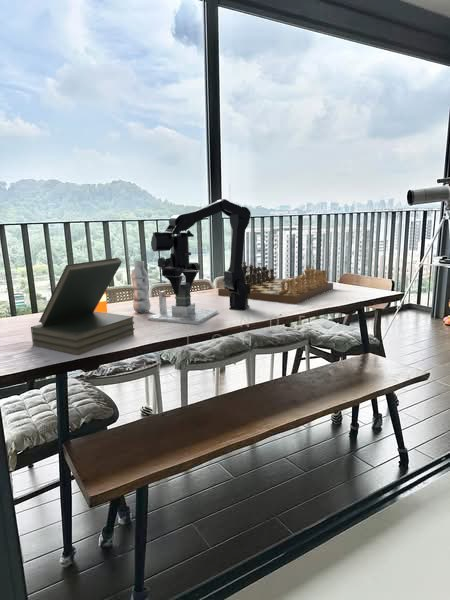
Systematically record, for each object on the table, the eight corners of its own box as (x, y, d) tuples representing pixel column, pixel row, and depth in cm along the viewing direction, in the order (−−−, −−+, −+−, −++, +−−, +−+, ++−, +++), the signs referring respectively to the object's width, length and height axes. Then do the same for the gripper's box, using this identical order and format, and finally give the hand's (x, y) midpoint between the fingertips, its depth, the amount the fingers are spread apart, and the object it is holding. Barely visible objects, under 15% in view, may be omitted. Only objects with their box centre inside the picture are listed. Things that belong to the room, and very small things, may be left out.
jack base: (218, 312, 161) (217, 289, 159) (197, 324, 144) (196, 298, 142) (172, 309, 168) (171, 287, 166) (147, 320, 152) (146, 295, 150)
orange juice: (96, 312, 166) (92, 262, 162) (108, 316, 160) (103, 263, 156) (77, 316, 161) (72, 264, 157) (88, 319, 154) (83, 265, 150)
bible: (92, 328, 144) (85, 255, 139) (135, 335, 134) (129, 257, 129) (32, 346, 125) (22, 263, 120) (77, 356, 115) (68, 266, 110)
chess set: (332, 290, 204) (333, 260, 201) (296, 305, 172) (296, 269, 169) (262, 283, 227) (262, 256, 224) (218, 296, 195) (217, 264, 192)
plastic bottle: (147, 314, 161) (144, 262, 157) (130, 314, 162) (127, 262, 158) (153, 310, 167) (150, 260, 163) (137, 310, 168) (134, 260, 164)
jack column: (191, 304, 156) (190, 282, 155) (185, 306, 153) (184, 284, 151) (181, 303, 158) (180, 282, 156) (175, 306, 154) (174, 284, 153)
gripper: (174, 247, 163) (175, 287, 166) (147, 251, 146) (150, 295, 149) (199, 247, 158) (201, 288, 162) (175, 252, 142) (177, 297, 145)
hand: (182, 292), depth 154 cm, fingers open, 9 cm apart
